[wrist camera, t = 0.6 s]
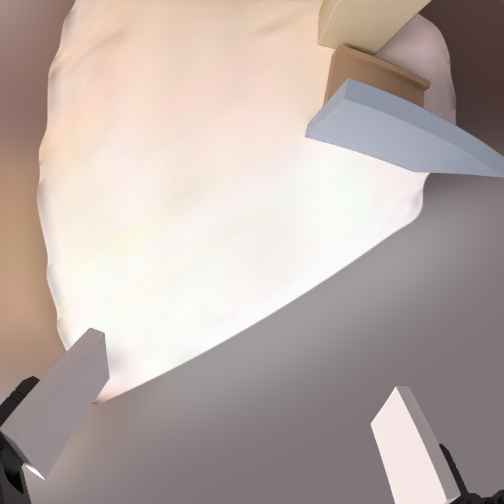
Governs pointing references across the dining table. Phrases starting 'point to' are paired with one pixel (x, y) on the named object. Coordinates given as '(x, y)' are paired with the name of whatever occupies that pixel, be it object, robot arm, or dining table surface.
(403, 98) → the board
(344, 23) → the toy refrigerator
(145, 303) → the dining table surface
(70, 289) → the dining table surface
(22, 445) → the robot arm
